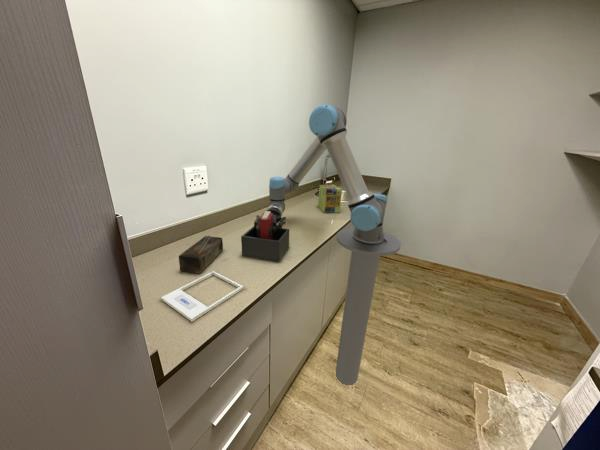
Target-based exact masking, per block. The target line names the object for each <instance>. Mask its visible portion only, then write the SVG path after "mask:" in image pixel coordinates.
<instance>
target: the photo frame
mask: <svg viewBox="0 0 600 450" xmlns="http://www.w3.org/2000/svg"><path fill="white" fill-rule="evenodd" d="M212 276H215V277H217V278H219V279H220V280H223V281H224V282H226V283H228V284H229V285H232V286H234V287H236V289H234V290H232V291H231V292H229V293H228V294H226V295H224V296H222V297H221V298H219V299H218V300H217V301H215V302H213V303H211V304H210V305H208V306H207V305H206V304H204V303H202V302H201V301H199V300H198V299H196V298H194V297H193V296H191V295H190V294H188V293H186V292H185V290H187V289H189V288H191V287H192V286H194V285H197V284H198V283H200V282H202V281H204V280H206V279H208V278H210V277H212ZM242 290H244V285H242V284H240V283H238V282H236V281H234V280H232V279H230V278H228V277H226V276H224V275H223V274H220V273H218V272H216V271H214V270H213V271H210V272H209V273H207V274H205V275H202V276H201V277H199V278H197V279H195V280H192V281H191V282H188V283H187V284H184V285H183V286H181V287H179V288H177V289H174V290H173V291H171V292H168V293H166V294H164V295H163V296H161V297H160V298H161V299H160V300H161V301H162V302H164V303H165V304H166V305H168V306H169V307H171V308H172V309H173V310H175V311H176V312H178V313H179V314H180V315H182V316H183V317H184V318H186V319H187V320H189V321H190V322H191V323H193V322H194V321H196V320H198V319H199V318H201V317H202V316H204V315H205V314H207V313H208V312H210V311H211V310H213V309H214V308H216V307H218V306H219V305H221V304H222V303H224V302H225V301H227V300H228V299H230V298H232V297H233V296H234V295H236V294H238V293H239V292H241V291H242Z"/></svg>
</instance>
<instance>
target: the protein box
mask: <svg viewBox="0 0 600 450" xmlns="http://www.w3.org/2000/svg"><path fill="white" fill-rule="evenodd" d="M318 188H319V189H318V201H317V202H318V203H317V207H318V208H319V209H320V210H321V211H322V212H323V213H324V214H335V213H337V214H339V213H340V210H341V202H342V201H341V200H342V192H343V189H342V188H341V187H339V186H338V185H335V184H323V183H321V184H319V187H318Z"/></svg>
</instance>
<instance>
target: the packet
mask: <svg viewBox="0 0 600 450" xmlns="http://www.w3.org/2000/svg"><path fill="white" fill-rule="evenodd" d="M272 224H273V213H271V211H267V210H265V211H264V212H263V213H262V215H261V217H260V219H259V228H260V238H262V239H269V240H273V233H272V235H271V237H269V229H270V227H271V225H272Z"/></svg>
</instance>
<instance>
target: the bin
mask: <svg viewBox="0 0 600 450" xmlns="http://www.w3.org/2000/svg"><path fill="white" fill-rule="evenodd" d="M240 241H241V242H240V243H241V257H243V258H250V259H255V260H261V261H267V262H273V263H280V262H281V260H283V258H284V256H285V254H286V253H287V252H288V250H289V248H290V228H285V227H282V229H281V230H278V229H277V230H276V231H275V232H273V240H269V239H262V238H260V235H259V236H257V231H256V228H254V225H253V226H252V227H250V228H249V229H248V230H247V231H246V232H245V233H243V234H242V235H241V236H240Z"/></svg>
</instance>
